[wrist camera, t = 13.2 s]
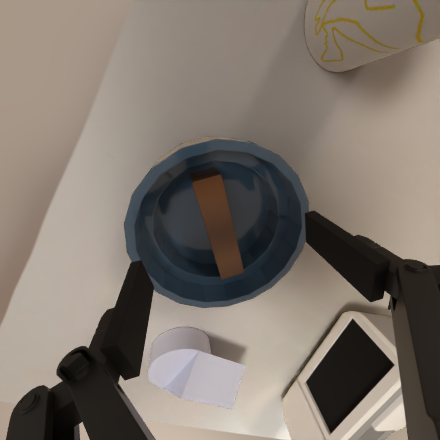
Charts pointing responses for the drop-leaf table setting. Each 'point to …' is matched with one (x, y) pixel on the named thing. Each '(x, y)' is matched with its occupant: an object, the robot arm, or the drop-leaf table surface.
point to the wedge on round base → (193, 368)
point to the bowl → (195, 228)
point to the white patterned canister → (367, 29)
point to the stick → (217, 221)
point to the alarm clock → (349, 384)
